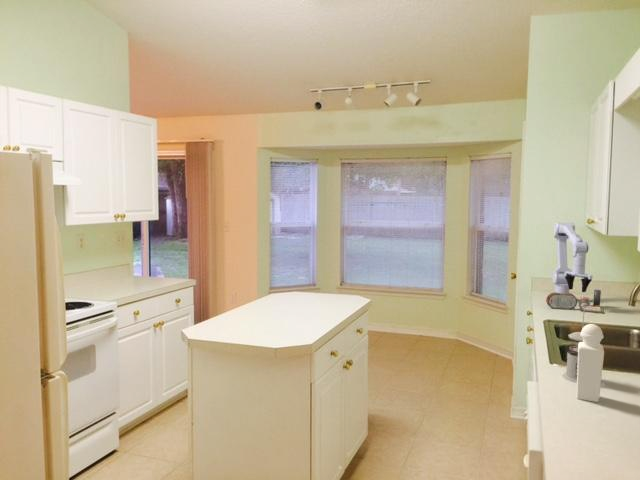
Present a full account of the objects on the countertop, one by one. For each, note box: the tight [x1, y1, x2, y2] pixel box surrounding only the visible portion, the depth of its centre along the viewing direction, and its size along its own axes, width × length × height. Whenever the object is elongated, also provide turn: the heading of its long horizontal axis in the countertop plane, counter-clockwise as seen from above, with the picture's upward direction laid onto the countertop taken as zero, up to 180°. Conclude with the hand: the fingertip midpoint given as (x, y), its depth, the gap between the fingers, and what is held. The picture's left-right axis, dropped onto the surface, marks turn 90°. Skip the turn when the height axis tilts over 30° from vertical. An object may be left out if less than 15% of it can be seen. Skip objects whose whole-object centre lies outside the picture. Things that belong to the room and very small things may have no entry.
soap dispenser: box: [576, 323, 605, 403], centre depth 149 cm, size 6×6×22 cm
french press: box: [562, 303, 588, 384], centre depth 164 cm, size 10×12×25 cm
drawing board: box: [579, 305, 604, 315], centre depth 265 cm, size 12×10×1 cm
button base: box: [578, 298, 591, 308], centre depth 274 cm, size 5×5×3 cm
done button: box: [579, 296, 590, 302], centre depth 274 cm, size 4×4×3 cm
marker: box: [592, 289, 602, 307], centre depth 273 cm, size 3×3×9 cm
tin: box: [545, 291, 578, 310], centre depth 266 cm, size 15×3×8 cm, turn 84°
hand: (577, 290), depth 266 cm, fingers open, 7 cm apart
